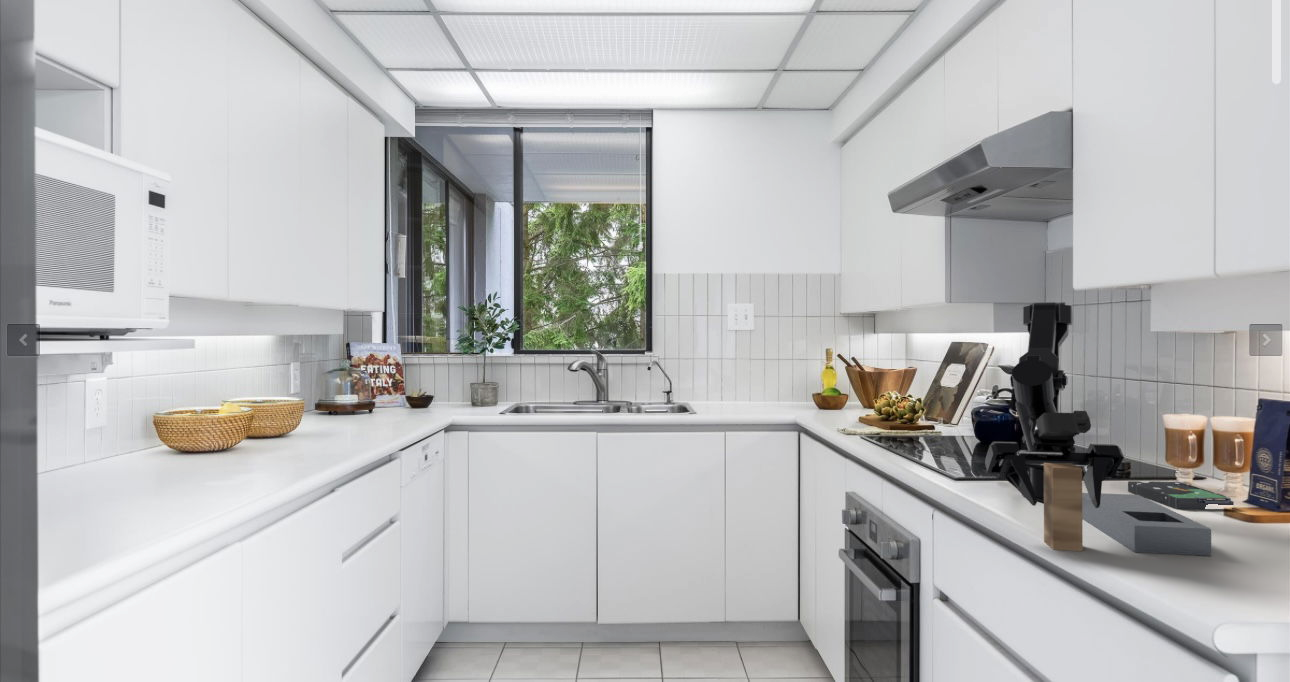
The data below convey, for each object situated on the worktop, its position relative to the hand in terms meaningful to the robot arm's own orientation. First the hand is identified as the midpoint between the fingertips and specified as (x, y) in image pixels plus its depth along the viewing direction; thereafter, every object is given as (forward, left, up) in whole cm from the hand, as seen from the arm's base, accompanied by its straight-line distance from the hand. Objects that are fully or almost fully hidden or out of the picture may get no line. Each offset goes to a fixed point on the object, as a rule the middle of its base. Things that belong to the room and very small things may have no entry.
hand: (1066, 505), depth 106 cm
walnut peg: (-1, +1, -7) cm, 7 cm away
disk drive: (-22, +44, -7) cm, 50 cm away
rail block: (-5, +17, -7) cm, 19 cm away
